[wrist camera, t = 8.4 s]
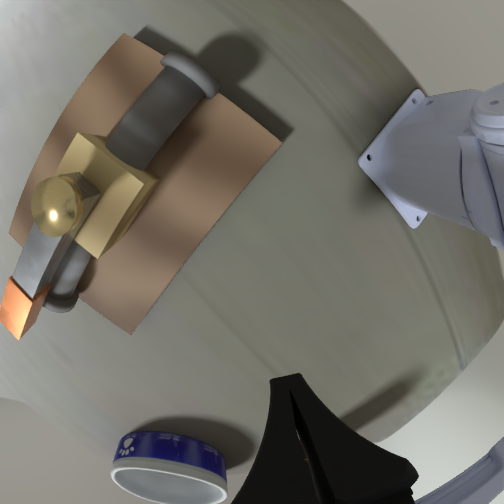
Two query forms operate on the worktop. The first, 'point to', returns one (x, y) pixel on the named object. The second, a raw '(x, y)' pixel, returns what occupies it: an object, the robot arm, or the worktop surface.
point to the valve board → (178, 199)
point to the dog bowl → (170, 469)
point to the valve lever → (45, 246)
